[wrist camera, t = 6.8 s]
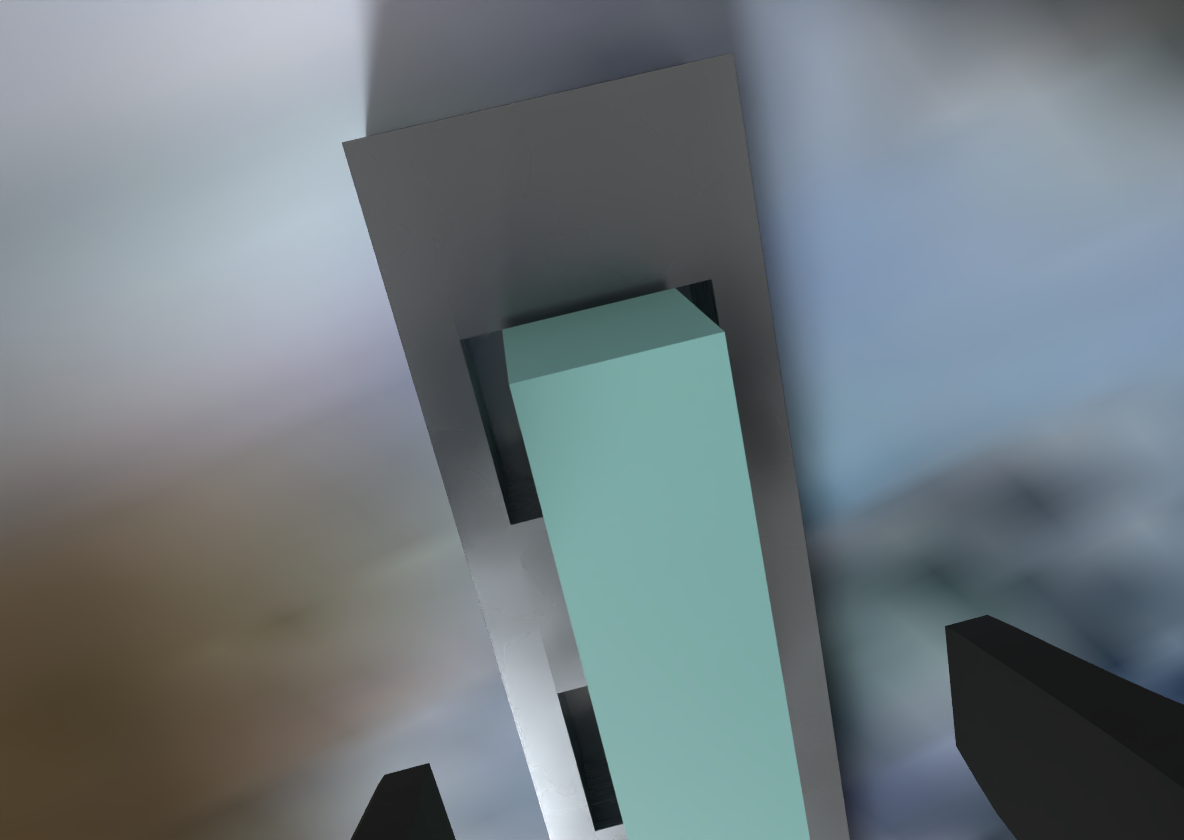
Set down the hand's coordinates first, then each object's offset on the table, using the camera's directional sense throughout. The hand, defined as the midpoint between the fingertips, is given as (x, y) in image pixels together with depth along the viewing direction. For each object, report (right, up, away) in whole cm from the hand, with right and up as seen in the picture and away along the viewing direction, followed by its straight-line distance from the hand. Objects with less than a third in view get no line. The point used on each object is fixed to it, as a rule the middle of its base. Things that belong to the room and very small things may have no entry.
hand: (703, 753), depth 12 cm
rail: (0, -1, +8) cm, 8 cm away
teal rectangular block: (-1, +2, +6) cm, 7 cm away
